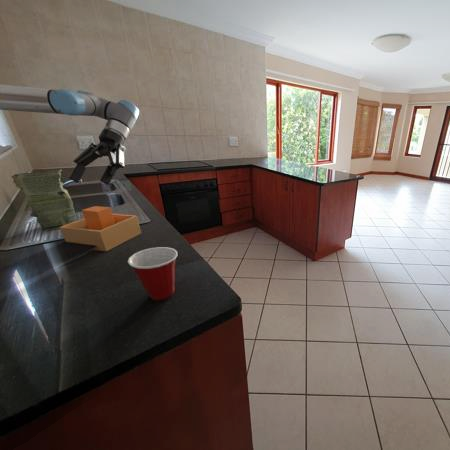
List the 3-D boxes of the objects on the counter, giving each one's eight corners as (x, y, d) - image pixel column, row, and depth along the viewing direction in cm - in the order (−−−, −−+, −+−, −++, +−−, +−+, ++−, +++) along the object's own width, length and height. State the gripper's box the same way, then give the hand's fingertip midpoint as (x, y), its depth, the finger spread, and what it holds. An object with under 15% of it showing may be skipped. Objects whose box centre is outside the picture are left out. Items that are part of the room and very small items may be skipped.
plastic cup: (190, 295, 63) (182, 256, 59) (143, 313, 57) (130, 272, 52) (179, 276, 71) (171, 241, 66) (137, 290, 65) (125, 253, 60)
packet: (92, 239, 91) (81, 210, 86) (104, 233, 96) (94, 205, 91) (107, 241, 90) (97, 211, 85) (119, 235, 94) (109, 207, 90)
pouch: (35, 235, 95) (5, 173, 86) (56, 224, 106) (32, 168, 96) (67, 233, 98) (41, 172, 88) (85, 222, 108) (64, 167, 98)
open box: (67, 246, 88) (59, 227, 85) (106, 229, 102) (100, 212, 99) (106, 251, 85) (99, 231, 81) (141, 233, 99) (136, 215, 95)
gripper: (148, 142, 94) (126, 189, 86) (97, 141, 98) (71, 185, 91) (133, 128, 87) (108, 177, 79) (79, 127, 91) (50, 173, 84)
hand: (88, 181), depth 85 cm, fingers open, 13 cm apart
